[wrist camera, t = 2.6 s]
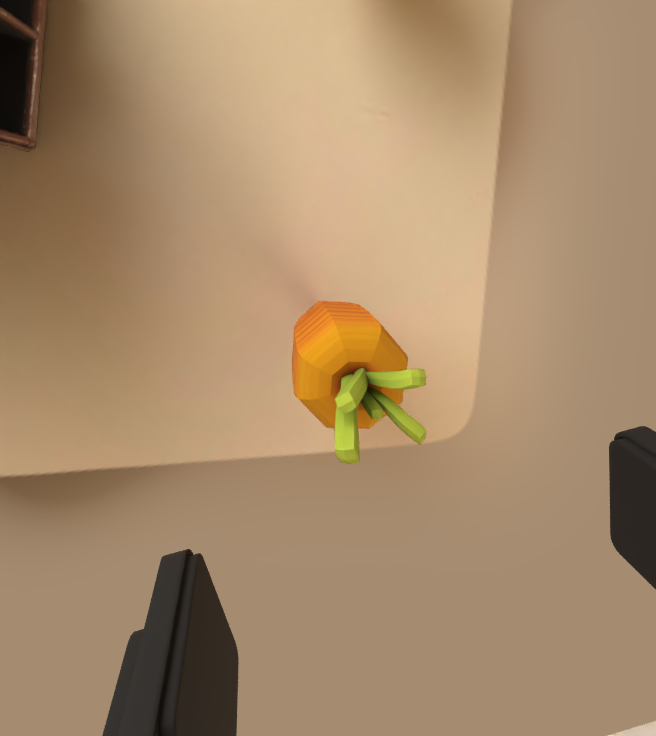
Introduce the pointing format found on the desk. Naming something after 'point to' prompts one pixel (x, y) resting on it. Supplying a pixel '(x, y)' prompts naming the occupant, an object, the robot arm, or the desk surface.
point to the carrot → (351, 374)
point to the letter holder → (20, 70)
